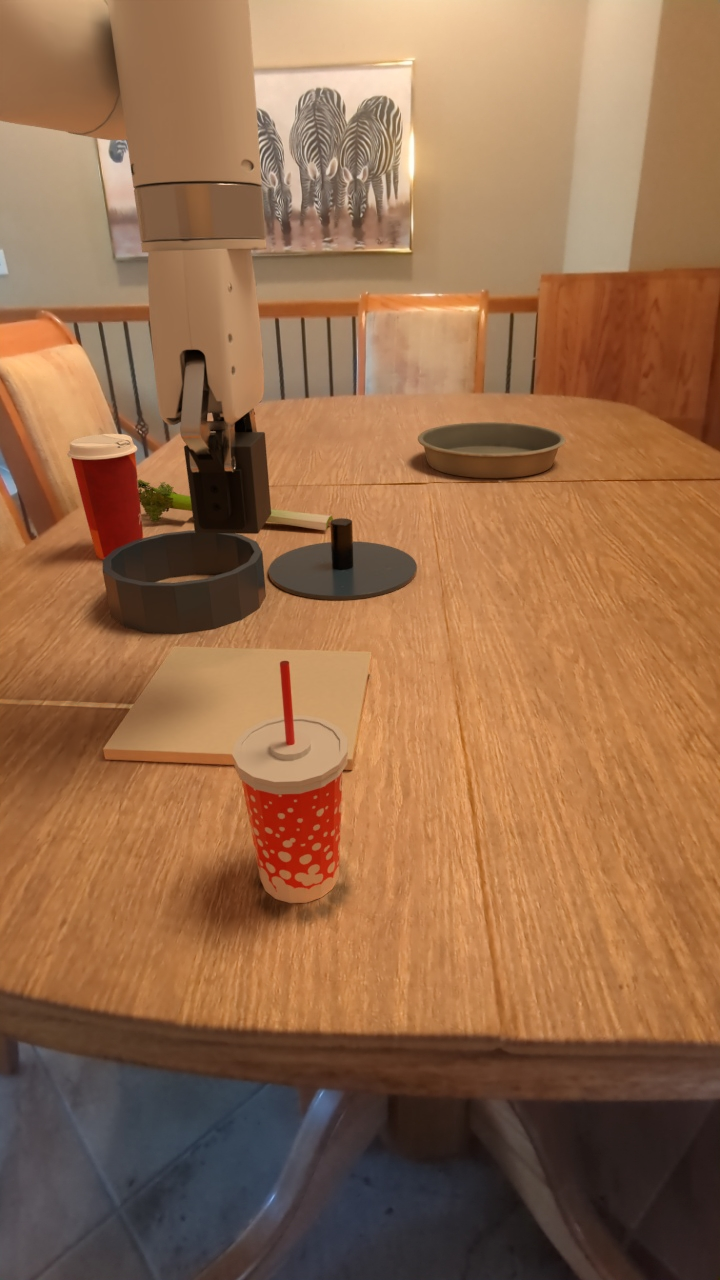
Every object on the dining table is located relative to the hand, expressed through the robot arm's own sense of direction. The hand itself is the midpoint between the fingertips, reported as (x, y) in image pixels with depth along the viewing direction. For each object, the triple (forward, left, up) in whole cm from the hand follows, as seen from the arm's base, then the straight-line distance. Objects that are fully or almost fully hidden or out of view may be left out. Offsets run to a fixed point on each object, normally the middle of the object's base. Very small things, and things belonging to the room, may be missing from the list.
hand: (232, 513), depth 54 cm
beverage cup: (+7, -18, -16) cm, 25 cm away
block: (0, 0, -1) cm, 1 cm away
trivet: (0, 0, -16) cm, 16 cm away
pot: (-11, +19, -16) cm, 27 cm away
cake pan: (+23, +80, -16) cm, 84 cm away
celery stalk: (-14, +45, -16) cm, 50 cm away
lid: (+4, +28, -15) cm, 32 cm away
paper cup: (-24, +33, -16) cm, 43 cm away
